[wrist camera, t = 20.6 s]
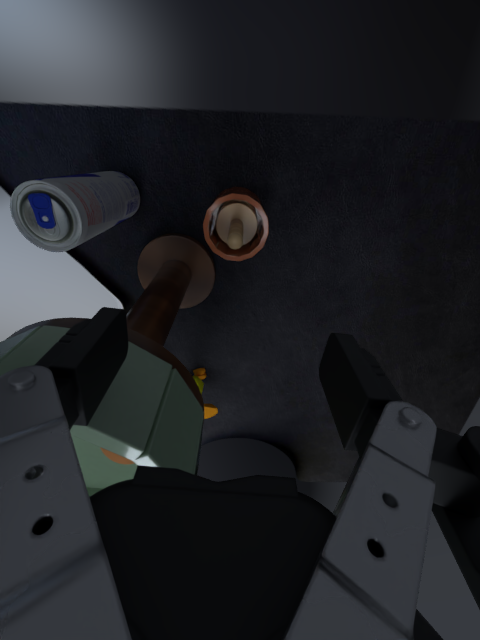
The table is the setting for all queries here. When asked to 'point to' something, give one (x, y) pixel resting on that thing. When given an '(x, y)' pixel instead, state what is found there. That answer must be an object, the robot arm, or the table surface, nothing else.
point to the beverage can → (72, 207)
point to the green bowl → (125, 413)
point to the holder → (217, 243)
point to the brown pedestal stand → (162, 296)
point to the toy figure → (198, 376)
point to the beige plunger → (236, 223)
